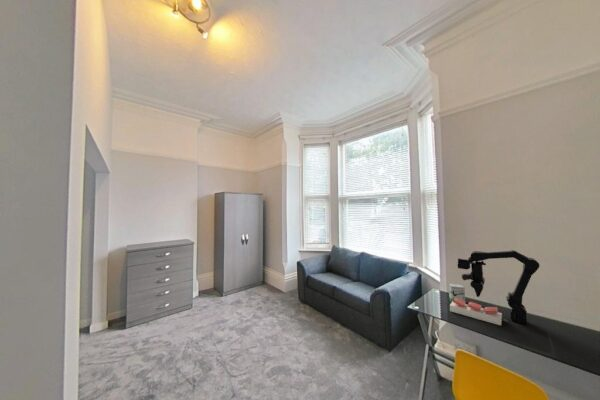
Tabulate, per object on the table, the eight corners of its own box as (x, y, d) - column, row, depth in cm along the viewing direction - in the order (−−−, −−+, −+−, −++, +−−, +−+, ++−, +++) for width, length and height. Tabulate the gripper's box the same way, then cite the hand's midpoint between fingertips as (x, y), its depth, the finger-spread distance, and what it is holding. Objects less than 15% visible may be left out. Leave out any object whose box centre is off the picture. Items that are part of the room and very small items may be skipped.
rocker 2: (481, 307, 138) (481, 305, 138) (479, 310, 133) (480, 308, 133) (469, 303, 142) (469, 301, 142) (467, 306, 138) (467, 304, 138)
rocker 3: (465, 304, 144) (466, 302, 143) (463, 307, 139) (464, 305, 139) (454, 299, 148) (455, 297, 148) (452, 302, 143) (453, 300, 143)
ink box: (451, 302, 156) (450, 285, 157) (449, 299, 161) (448, 283, 161) (465, 303, 154) (464, 287, 154) (462, 300, 158) (462, 284, 159)
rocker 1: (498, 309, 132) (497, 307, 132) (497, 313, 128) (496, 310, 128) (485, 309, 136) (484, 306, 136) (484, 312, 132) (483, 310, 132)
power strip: (508, 321, 130) (508, 314, 130) (507, 327, 123) (507, 320, 123) (452, 306, 150) (452, 300, 150) (450, 311, 143) (449, 304, 143)
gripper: (463, 265, 155) (465, 287, 154) (460, 271, 141) (461, 295, 141) (484, 268, 147) (485, 291, 147) (482, 275, 134) (483, 300, 133)
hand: (478, 294), depth 142 cm, fingers open, 9 cm apart
